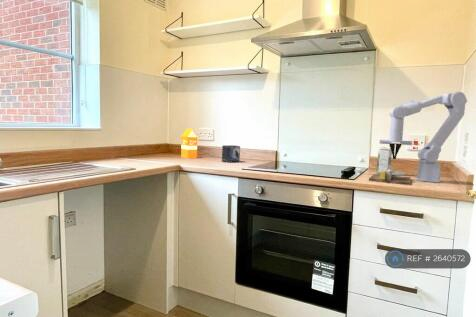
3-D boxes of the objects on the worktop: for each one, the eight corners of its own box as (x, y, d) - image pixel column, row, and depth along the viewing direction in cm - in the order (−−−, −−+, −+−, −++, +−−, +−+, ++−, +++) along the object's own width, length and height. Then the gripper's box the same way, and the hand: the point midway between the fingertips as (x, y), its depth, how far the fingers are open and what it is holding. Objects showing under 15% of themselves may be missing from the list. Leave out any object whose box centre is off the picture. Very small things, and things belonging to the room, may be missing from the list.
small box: (227, 162, 204) (228, 146, 203) (221, 161, 209) (221, 145, 208) (240, 161, 211) (240, 145, 210) (233, 160, 216) (234, 145, 215)
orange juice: (190, 156, 232) (191, 128, 230) (197, 157, 225) (197, 129, 223) (180, 157, 227) (181, 128, 225) (187, 158, 220) (187, 129, 218)
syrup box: (379, 172, 182) (381, 147, 180) (390, 173, 178) (392, 147, 177) (376, 173, 177) (378, 147, 176) (387, 174, 174) (389, 148, 172)
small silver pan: (382, 174, 164) (383, 167, 164) (408, 177, 156) (408, 170, 156) (369, 177, 153) (369, 169, 152) (395, 181, 144) (396, 173, 144)
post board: (410, 179, 161) (411, 168, 160) (409, 185, 143) (410, 173, 143) (373, 175, 169) (374, 165, 168) (368, 180, 152) (369, 169, 151)
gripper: (412, 132, 159) (410, 159, 161) (380, 131, 166) (378, 157, 167) (413, 132, 153) (410, 160, 154) (380, 131, 159) (378, 158, 161)
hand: (394, 159), depth 160 cm, fingers closed
